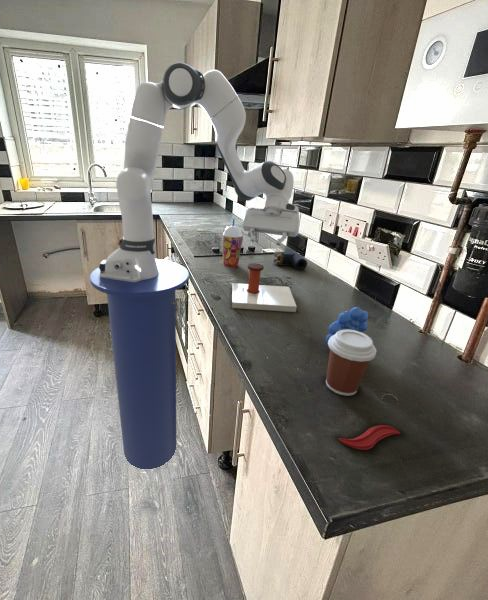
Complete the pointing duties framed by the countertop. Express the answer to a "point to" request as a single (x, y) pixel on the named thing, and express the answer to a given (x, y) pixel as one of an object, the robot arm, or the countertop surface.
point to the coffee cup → (348, 360)
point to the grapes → (349, 322)
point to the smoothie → (232, 245)
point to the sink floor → (263, 298)
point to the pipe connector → (290, 259)
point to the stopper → (254, 277)
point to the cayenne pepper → (370, 437)
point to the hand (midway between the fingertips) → (265, 242)
